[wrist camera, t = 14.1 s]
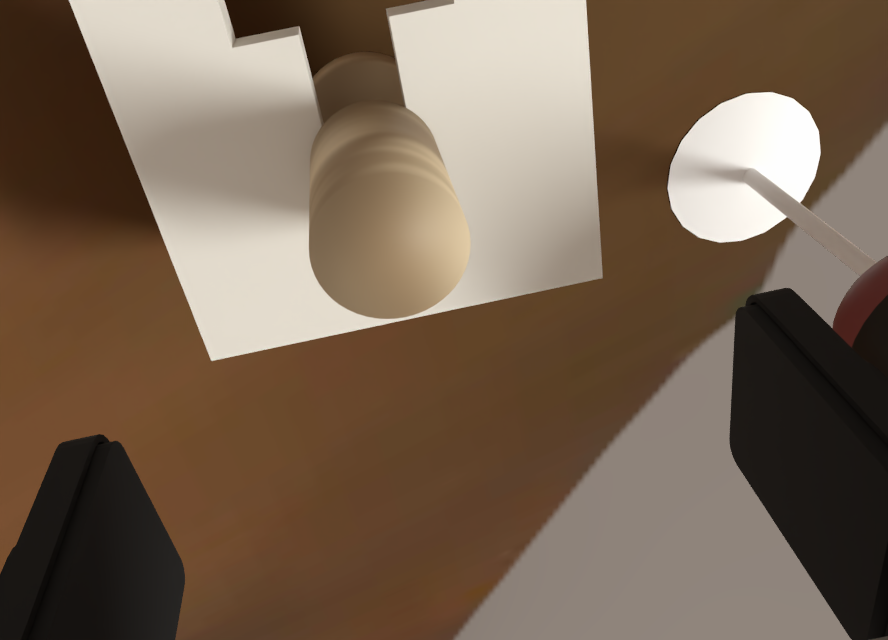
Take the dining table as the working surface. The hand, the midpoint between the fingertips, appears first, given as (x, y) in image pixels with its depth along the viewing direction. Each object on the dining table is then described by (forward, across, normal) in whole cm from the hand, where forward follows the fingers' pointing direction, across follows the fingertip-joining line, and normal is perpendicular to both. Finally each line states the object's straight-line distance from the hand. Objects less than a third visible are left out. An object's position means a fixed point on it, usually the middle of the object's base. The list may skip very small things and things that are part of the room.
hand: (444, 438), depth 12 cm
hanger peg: (+19, 0, +1) cm, 19 cm away
